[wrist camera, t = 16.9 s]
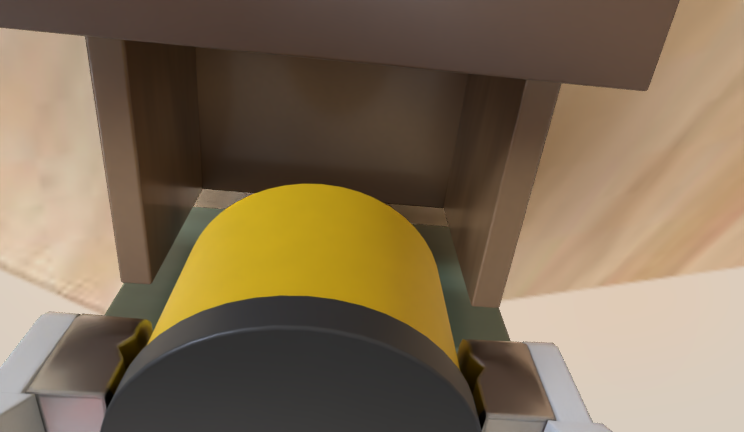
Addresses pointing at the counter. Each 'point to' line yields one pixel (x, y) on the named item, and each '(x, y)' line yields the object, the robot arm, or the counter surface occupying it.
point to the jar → (301, 327)
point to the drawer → (314, 156)
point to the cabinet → (391, 32)
